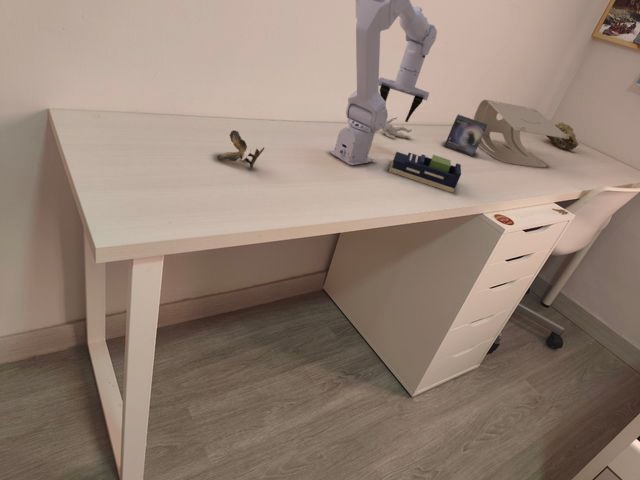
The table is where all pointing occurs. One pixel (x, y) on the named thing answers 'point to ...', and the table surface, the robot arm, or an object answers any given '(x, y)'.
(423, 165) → the navy slotted organizer
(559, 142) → the mineral specimen
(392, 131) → the soldier figure
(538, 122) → the laptop stand
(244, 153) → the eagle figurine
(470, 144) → the small box
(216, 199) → the table surface
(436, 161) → the green cube
